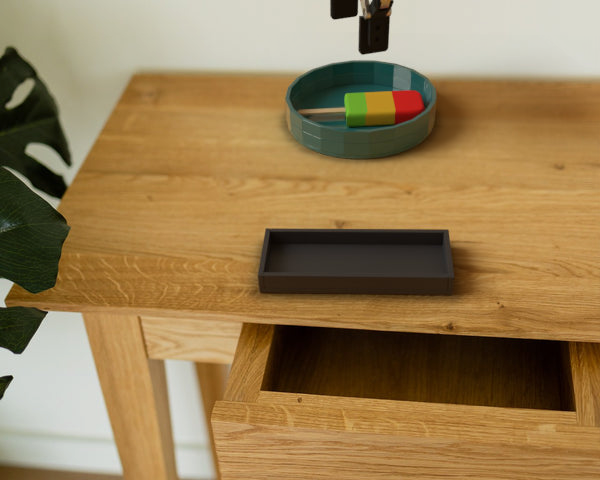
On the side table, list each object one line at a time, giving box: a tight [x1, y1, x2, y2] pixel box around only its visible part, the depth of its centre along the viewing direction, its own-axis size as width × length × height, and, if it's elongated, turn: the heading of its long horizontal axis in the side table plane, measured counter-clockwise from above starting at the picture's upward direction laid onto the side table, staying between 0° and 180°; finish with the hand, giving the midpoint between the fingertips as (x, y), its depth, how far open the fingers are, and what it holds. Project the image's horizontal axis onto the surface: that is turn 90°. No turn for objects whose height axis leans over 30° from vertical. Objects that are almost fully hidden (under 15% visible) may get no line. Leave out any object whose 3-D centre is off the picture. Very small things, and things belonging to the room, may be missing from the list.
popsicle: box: [298, 90, 425, 127], centre depth 91 cm, size 6×15×2 cm, turn 91°
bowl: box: [284, 59, 437, 160], centre depth 91 cm, size 18×18×4 cm
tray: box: [257, 227, 455, 296], centre depth 71 cm, size 17×7×2 cm, turn 86°
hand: (358, 33), depth 85 cm, fingers open, 9 cm apart
